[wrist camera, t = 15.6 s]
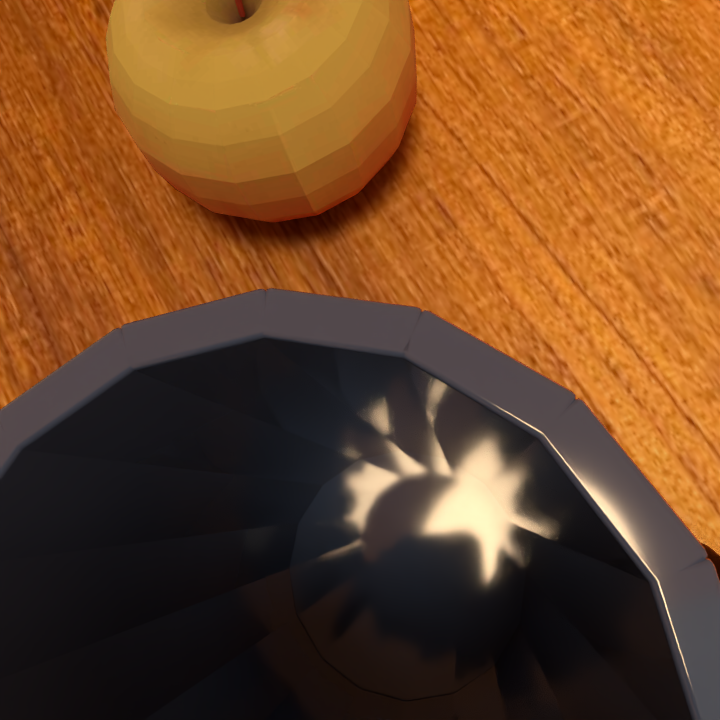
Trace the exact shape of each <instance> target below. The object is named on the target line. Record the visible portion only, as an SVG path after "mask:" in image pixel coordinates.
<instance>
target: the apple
mask: <svg viewBox="0 0 720 720" xmlns="http://www.w3.org/2000/svg"><path fill="white" fill-rule="evenodd" d="M106 45H107V56H108V66H109V76H110V83H111V89H112V95H113V101H114V107H115V111H116V112H117V114H118V115H119V117H120V119H121V120H122V122H123V123H124V125H125V127H126V128H127V130H128V131H129V133H130V135H131V136H132V138H133V139H134V141H135V143H136V144H137V146H138V148H139V149H140V150H141V152H142V153H143V154H144V156H145V157H146V159H147V160H148V161H149V163H150V164H151V165H152V167H153V168H154V169H155V171H156V172H157V173H158V174H160V175H161V176H162V177H163V178H164V179H165V180H166V181H167V182H168V183H170V184H171V185H172V186H173V187H174V188H175V189H177V190H179V191H180V192H182V193H183V194H185V195H186V196H188V197H189V198H191V199H193V200H194V201H196V202H197V203H199V204H200V205H202V206H204V207H205V208H207V209H208V210H210V211H211V212H215V213H220V214H226V215H232V216H237V217H243V218H248V219H254V220H259V221H266V222H280V221H286V220H292V219H298V218H304V217H310V216H316V215H319V214H321V213H323V212H325V211H327V210H328V209H330V208H332V207H334V206H336V205H338V204H340V203H341V202H343V201H345V200H347V199H349V198H351V197H353V196H355V195H356V194H358V193H359V192H360V191H361V190H362V189H363V188H364V187H365V186H366V184H367V183H368V182H369V181H370V180H371V179H372V178H373V177H374V176H375V175H376V174H377V173H378V171H379V170H380V169H381V168H382V167H383V166H384V165H385V164H386V163H387V162H388V160H389V159H390V158H391V156H392V155H393V154H394V152H395V151H396V150H397V148H398V147H399V144H400V142H401V139H402V137H403V134H404V132H405V129H406V127H407V124H408V122H409V119H410V117H411V114H412V111H413V109H414V106H415V104H416V80H417V76H416V57H415V37H414V27H413V22H412V17H411V11H410V6H409V1H408V0H115V2H114V5H113V8H112V11H111V15H110V19H109V24H108V29H107V34H106Z"/></svg>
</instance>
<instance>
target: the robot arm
mask: <svg viewBox="0 0 720 720" xmlns="http://www.w3.org/2000/svg"><path fill="white" fill-rule="evenodd" d="M701 544H702V546H703V547H704V548H705V550H706V552H707V555H708V556H707V557H706V558H707V559H710V560H711V561H712V563H713V564H714V566H715V568H716V571H717V574H718V577H719V580H720V556H719V555H718V554H717V553H716V552H715V551H713V550H712V549H711V548H710V547H708V546H707V545H705V544H703V543H701Z"/></svg>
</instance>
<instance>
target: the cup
mask: <svg viewBox="0 0 720 720" xmlns="http://www.w3.org/2000/svg"><path fill="white" fill-rule="evenodd" d="M707 556H708V555H707V552H706V550H705V548H704V547H703V546H702V544H701V543H700V542H699V541H698V540H697V538H696V537H695V536H694V535H693V533H692V532H691V531H690V530H689V529H688V527H687V526H686V525H685V524H684V523H683V521H682V520H681V519H680V518H679V516H678V515H677V514H676V513H675V512H674V510H673V509H672V508H671V507H670V505H669V504H668V503H667V502H666V501H665V499H664V498H663V497H662V496H661V495H660V493H659V492H658V491H657V490H656V488H655V487H654V486H653V485H652V484H651V482H650V481H649V480H648V479H647V477H646V476H645V475H644V474H643V473H642V471H641V470H640V469H639V468H638V467H637V465H636V464H635V463H634V462H633V460H632V459H631V458H630V457H629V456H628V454H627V453H626V452H625V451H624V450H623V448H622V447H621V446H620V445H619V443H618V442H617V441H616V440H615V439H614V437H613V436H612V435H611V434H610V432H609V431H608V430H607V429H606V428H605V426H604V425H603V424H602V423H601V422H600V420H599V419H598V418H597V417H596V415H595V414H594V413H593V412H592V411H591V409H590V408H589V407H588V406H587V405H586V403H585V402H584V401H582V400H581V399H579V398H578V399H576V395H575V394H574V393H573V392H572V391H571V390H569V389H567V388H565V387H564V386H562V385H560V384H558V383H556V382H555V381H553V380H551V379H549V378H548V377H546V376H544V375H542V374H540V373H539V372H537V371H535V370H533V369H532V368H530V367H528V366H526V365H525V364H523V363H521V362H519V361H517V360H516V359H514V358H512V357H510V356H509V355H507V354H505V353H503V352H501V351H500V350H498V349H496V348H494V347H493V346H491V345H489V344H487V343H486V342H484V341H482V340H480V339H478V338H477V337H475V336H473V335H471V334H470V333H468V332H466V331H464V330H462V329H461V328H459V327H457V326H455V325H454V324H452V323H450V322H448V321H446V320H445V319H443V318H441V317H439V316H438V315H436V314H434V313H432V312H431V311H426V310H424V311H423V312H422V309H420V308H418V307H414V306H406V305H398V304H391V303H383V302H375V301H368V300H360V299H352V298H344V297H337V296H329V295H321V294H314V293H306V292H298V291H290V290H283V289H275V288H270V289H267V291H266V290H265V289H258V290H254V291H250V292H246V293H243V294H239V295H235V296H231V297H227V298H223V299H219V300H216V301H212V302H208V303H204V304H200V305H196V306H193V307H189V308H185V309H181V310H177V311H173V312H170V313H166V314H162V315H158V316H154V317H150V318H146V319H143V320H139V321H135V322H131V323H127V324H124V325H123V326H122V327H121V328H116V329H114V330H112V331H111V332H109V333H108V334H107V335H105V336H104V337H102V338H101V339H100V340H98V341H97V342H95V343H94V344H92V345H91V346H90V347H88V348H87V349H85V350H84V351H83V352H81V353H80V354H78V355H77V356H76V357H74V358H73V359H71V360H70V361H68V362H67V363H66V364H64V365H63V366H61V367H60V368H59V369H57V370H56V371H54V372H53V373H51V374H50V375H49V376H47V377H46V378H44V379H43V380H42V381H40V382H39V383H37V384H36V385H34V386H33V387H32V388H30V389H29V390H27V391H26V392H25V393H23V394H22V395H20V396H19V397H17V398H16V399H15V400H13V401H12V402H10V403H9V404H8V405H6V406H5V407H3V408H2V409H0V720H720V580H719V577H718V574H717V571H716V568H715V566H714V564H713V563H712V561H711V560H710V559H707V558H706V557H707Z"/></svg>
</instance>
